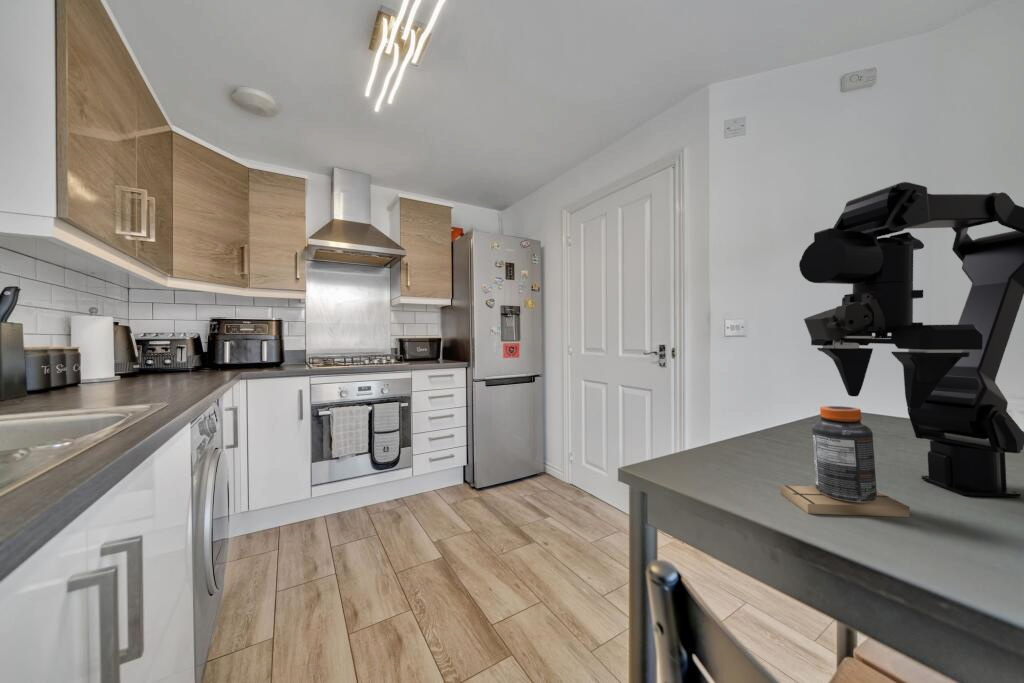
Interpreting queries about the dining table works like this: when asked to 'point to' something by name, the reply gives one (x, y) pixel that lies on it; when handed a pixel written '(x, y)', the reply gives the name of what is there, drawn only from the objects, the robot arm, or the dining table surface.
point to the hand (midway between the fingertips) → (880, 401)
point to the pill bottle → (844, 455)
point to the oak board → (842, 503)
